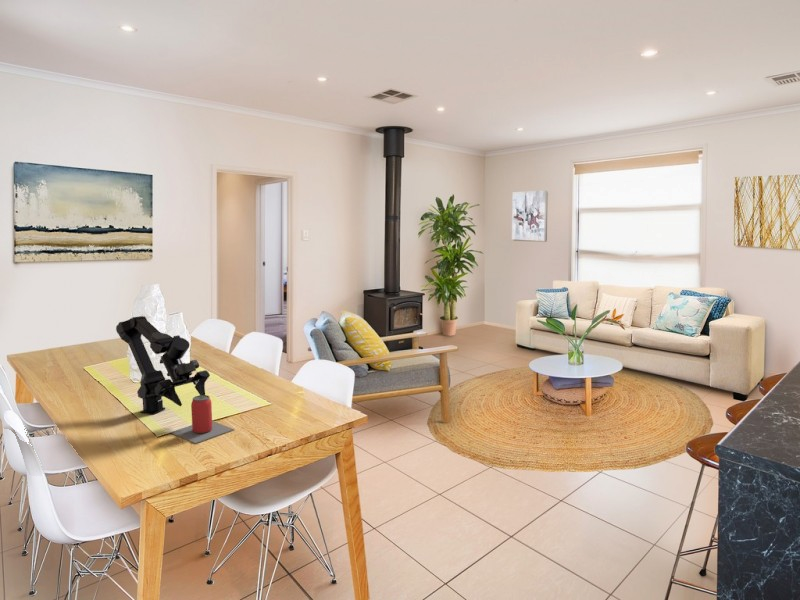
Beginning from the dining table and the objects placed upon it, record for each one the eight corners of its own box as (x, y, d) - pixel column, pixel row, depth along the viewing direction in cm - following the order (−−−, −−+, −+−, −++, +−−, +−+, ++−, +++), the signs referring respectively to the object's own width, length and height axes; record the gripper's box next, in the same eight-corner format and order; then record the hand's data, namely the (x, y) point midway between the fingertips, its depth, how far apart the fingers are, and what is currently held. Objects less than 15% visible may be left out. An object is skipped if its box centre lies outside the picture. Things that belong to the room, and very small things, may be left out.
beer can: (214, 426, 185) (212, 394, 183) (210, 433, 178) (209, 400, 176) (194, 427, 183) (193, 394, 182) (190, 434, 177) (188, 401, 175)
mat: (170, 433, 179) (170, 432, 179) (208, 420, 191) (208, 419, 191) (195, 444, 170) (195, 443, 170) (234, 430, 182) (234, 429, 182)
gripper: (157, 358, 175) (176, 396, 171) (206, 348, 190) (225, 383, 186) (146, 376, 181) (164, 414, 176) (194, 365, 196) (212, 399, 191)
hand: (193, 402), depth 182 cm, fingers open, 9 cm apart
